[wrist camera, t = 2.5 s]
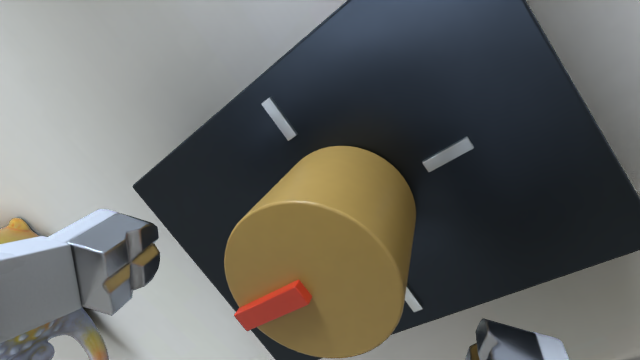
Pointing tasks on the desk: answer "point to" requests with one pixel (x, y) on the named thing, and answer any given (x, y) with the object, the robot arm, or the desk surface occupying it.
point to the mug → (33, 347)
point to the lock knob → (325, 254)
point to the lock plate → (419, 150)
